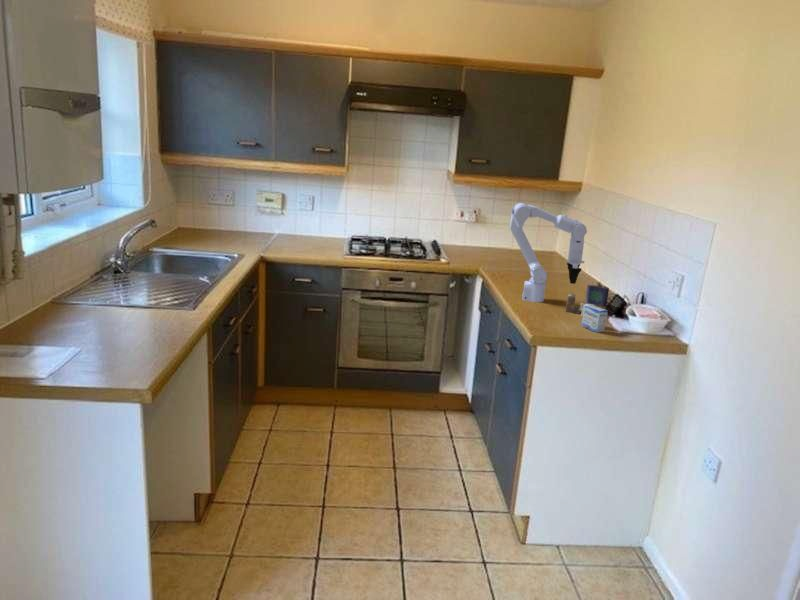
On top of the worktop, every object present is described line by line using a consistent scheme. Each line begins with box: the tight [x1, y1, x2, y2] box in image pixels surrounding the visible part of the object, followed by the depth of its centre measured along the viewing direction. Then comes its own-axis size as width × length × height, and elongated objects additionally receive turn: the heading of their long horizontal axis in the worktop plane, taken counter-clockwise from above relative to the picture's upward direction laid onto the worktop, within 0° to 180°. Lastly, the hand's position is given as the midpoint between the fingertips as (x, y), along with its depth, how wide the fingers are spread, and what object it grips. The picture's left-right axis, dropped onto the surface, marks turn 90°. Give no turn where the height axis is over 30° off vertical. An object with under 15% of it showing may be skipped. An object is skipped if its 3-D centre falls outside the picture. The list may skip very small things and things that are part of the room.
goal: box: [579, 302, 594, 317], centre depth 247 cm, size 5×9×3 cm, turn 167°
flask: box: [584, 281, 610, 307], centre depth 261 cm, size 9×3×11 cm, turn 59°
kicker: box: [565, 293, 580, 315], centre depth 247 cm, size 5×5×7 cm
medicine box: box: [581, 304, 609, 333], centre depth 228 cm, size 8×4×9 cm, turn 31°
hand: (572, 281), depth 259 cm, fingers open, 7 cm apart
